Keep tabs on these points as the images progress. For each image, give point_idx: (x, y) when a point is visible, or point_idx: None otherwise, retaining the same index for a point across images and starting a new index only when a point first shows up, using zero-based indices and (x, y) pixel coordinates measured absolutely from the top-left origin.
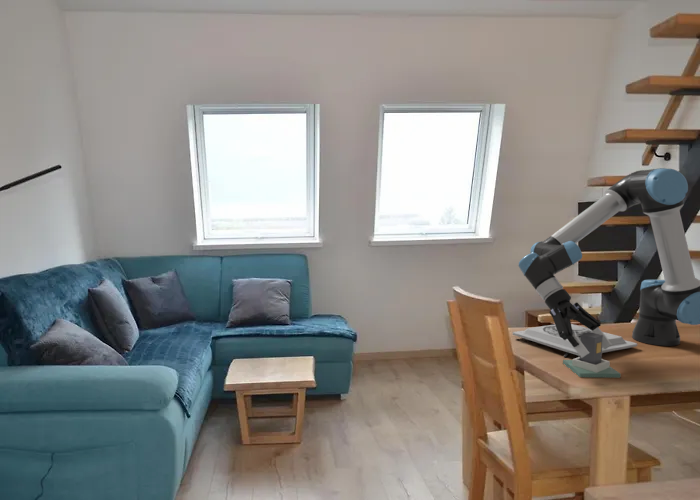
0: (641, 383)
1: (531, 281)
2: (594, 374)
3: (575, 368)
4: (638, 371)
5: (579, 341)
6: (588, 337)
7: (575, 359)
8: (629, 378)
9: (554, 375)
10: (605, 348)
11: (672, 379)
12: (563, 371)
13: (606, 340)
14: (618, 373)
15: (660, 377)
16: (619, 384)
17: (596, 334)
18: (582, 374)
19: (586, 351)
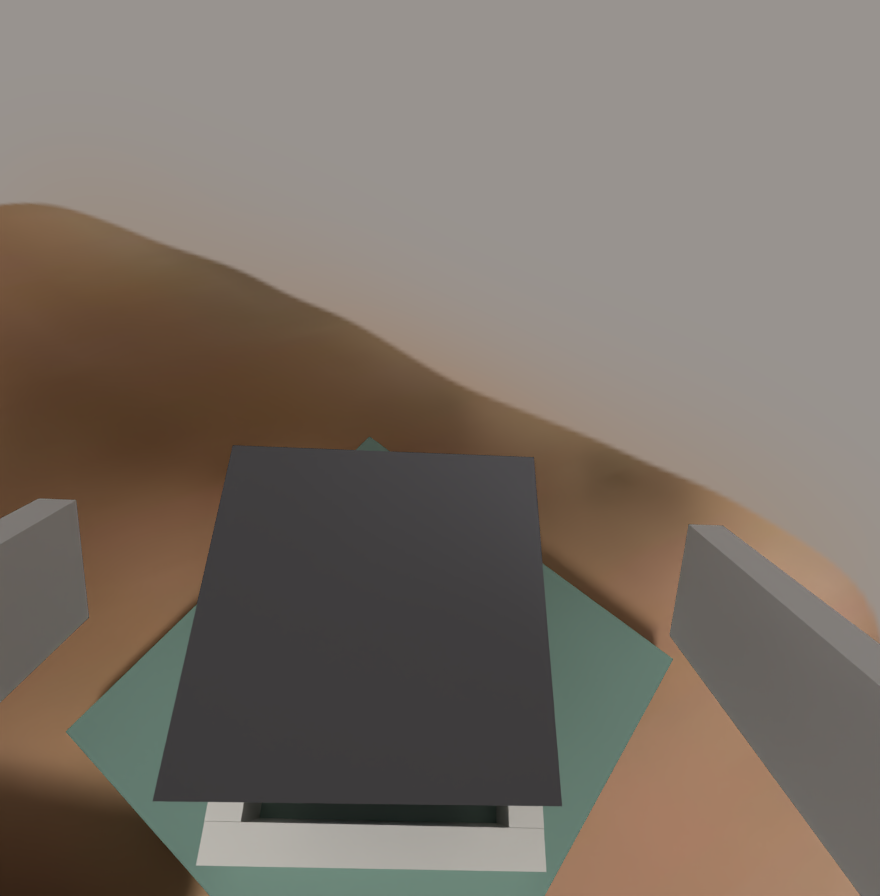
0: (373, 337)
1: None
2: (548, 572)
3: (589, 769)
4: (102, 426)
5: (855, 627)
6: (541, 597)
7: (518, 836)
8: (333, 411)
9: None
10: (82, 601)
11: (139, 258)
12: (666, 882)
13: (20, 547)
14: (376, 449)
15: (148, 305)
16: (517, 409)
17: (257, 550)
18: (644, 643)
19: (736, 543)
